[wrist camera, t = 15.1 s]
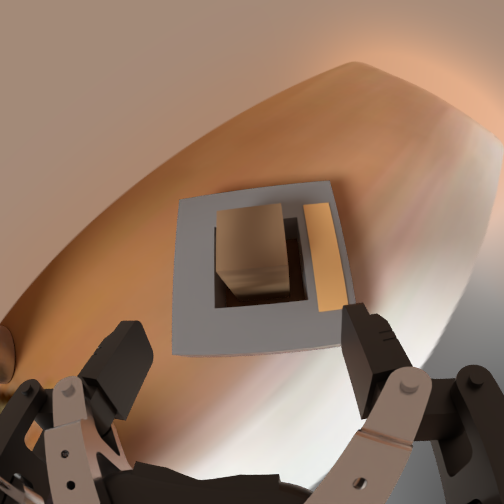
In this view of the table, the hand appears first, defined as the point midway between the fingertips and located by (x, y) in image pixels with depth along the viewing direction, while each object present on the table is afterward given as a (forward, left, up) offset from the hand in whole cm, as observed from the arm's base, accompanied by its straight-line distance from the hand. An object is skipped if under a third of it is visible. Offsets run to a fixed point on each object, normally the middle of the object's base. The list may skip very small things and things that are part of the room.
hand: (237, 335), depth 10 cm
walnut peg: (0, +7, -13) cm, 15 cm away
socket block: (0, +7, -13) cm, 15 cm away
